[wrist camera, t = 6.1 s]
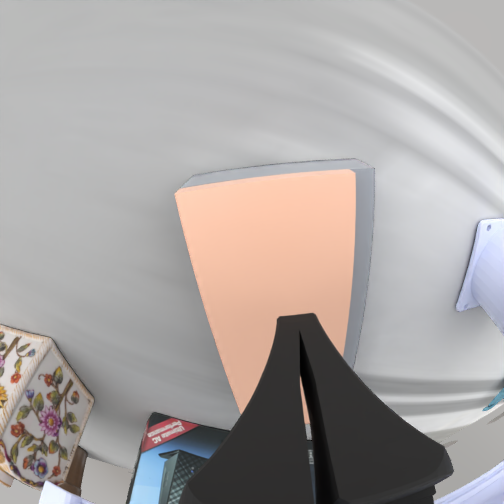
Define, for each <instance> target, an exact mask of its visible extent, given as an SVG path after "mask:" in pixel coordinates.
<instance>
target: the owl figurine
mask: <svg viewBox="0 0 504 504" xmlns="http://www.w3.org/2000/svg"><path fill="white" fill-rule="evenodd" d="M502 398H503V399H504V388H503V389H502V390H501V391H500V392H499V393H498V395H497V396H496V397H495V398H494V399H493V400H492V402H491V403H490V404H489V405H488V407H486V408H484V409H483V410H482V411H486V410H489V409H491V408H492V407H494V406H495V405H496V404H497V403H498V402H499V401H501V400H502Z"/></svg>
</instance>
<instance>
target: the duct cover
mask: <svg viewBox="0 0 504 504" xmlns="http://www.w3.org/2000/svg"><path fill="white" fill-rule="evenodd" d="M175 198H176V203H177V207H178V211H179V215H180V219H181V224H182V228H183V232H184V236H185V240H186V243H187V247H188V251H189V255H190V259H191V262H192V266H193V270H194V273H195V277H196V280H197V284H198V287H199V291H200V294H201V298H202V301H203V304H204V308H205V311H206V314H207V317H208V321H209V324H210V327H211V330H212V333H213V336H214V340H215V343H216V346H217V349H218V352H219V355H220V358H221V361H222V363H223V366H224V369H225V372H226V375H227V378H228V381H229V383H230V386H231V389H232V392H233V394H234V397H235V400H236V403H237V405H238V408H239V410H240V413H241V414H242V413H243V411H244V410H245V408H246V406H247V404H248V402H249V401H250V399H251V397H252V395H253V393H254V391H255V389H256V387H257V385H258V383H259V380H260V378H261V375H262V373H263V371H264V368H265V366H266V363H267V360H268V357H269V354H270V351H271V348H272V344H273V340H274V336H275V331H276V324H277V318H278V317H279V316H288V315H297V314H306V313H314V314H316V316H317V318H318V320H319V322H320V324H321V325H322V327H323V329H324V331H325V332H326V334H327V335H328V337H329V339H330V340H331V342H332V343H333V345H334V346H335V347H336V349H337V350H338V352H339V353H340V354H341V356H342V357H343V354H344V347H345V340H346V333H347V326H348V318H349V309H350V300H351V290H352V278H353V264H354V247H355V219H356V177H355V173H354V172H353V171H351V170H350V169H342V170H326V171H312V172H300V173H290V174H280V175H270V176H262V177H253V178H245V179H238V180H231V181H224V182H217V183H210V184H204V185H198V186H192V187H186V188H180V189H179V190H178V191H177V192H176V193H175ZM300 388H301V396H302V404H303V412H304V421H305V424H310V421H309V416H308V411H307V406H306V401H305V396H304V391H303V387H302V382H301V377H300Z"/></svg>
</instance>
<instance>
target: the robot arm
mask: <svg viewBox="0 0 504 504" xmlns="http://www.w3.org/2000/svg"><path fill="white" fill-rule="evenodd" d="M480 305H481V307H482V308H483V309H484V310H485V312H486V313H487V314H488V315H489V317H490V318H491V319H492V321H493V322H494V323H495V325H496V326H497V327H498V329H499V330H500V331H501V333H502V334H503V336H504V218H501V219H488V220H482V221H480V223H479V224H478V228H477V233H476V238H475V243H474V247H473V251H472V255H471V259H470V263H469V267H468V270H467V274H466V277H465V280H464V284H463V287H462V290H461V293H460V296H459V299H458V302H457V304H456V310H457V311H458V312H461V311H464V310H468V309H471V308H474V307H477V306H480ZM300 377H301V382H302V387H303V391H304V396H305V401H306V406H307V411H308V416H309V421H310V427H311V434H312V446H313V459H314V476H315V502H316V504H504V460H503V461H501V462H500V464H498V465H497V466H495V467H494V468H492V469H491V470H489V471H488V472H486V473H485V474H483V475H482V476H480V477H478V478H477V479H475V480H473V481H472V482H470V483H468V484H466V485H465V486H463V487H461V488H459V489H457V490H456V491H453V492H452V493H449V494H447V495H446V496H443V497H441V498H439V499H437V500H435V501H434V500H433V496H432V495H434V494H435V493H436V490H435V486H434V485H435V484H437V483H439V482H441V481H443V480H444V479H446V478H448V477H449V476H451V475H452V474H453V472H454V470H453V466H452V463H451V460H450V458H449V455H448V453H447V451H446V449H445V447H444V446H443V445H441V444H439V443H437V442H436V441H434V440H432V439H431V438H429V437H427V436H426V435H424V434H423V433H421V432H420V431H418V430H417V429H416V428H414V427H413V426H411V425H410V424H409V423H407V422H406V421H405V420H403V419H402V418H401V417H400V416H399V415H397V414H396V413H395V412H394V411H393V410H391V409H390V408H389V407H388V406H387V405H385V404H384V403H383V402H382V401H381V400H380V399H379V398H378V397H377V396H376V395H375V394H374V393H373V392H372V391H371V390H370V389H369V388H368V387H367V386H366V385H365V384H364V383H363V382H362V380H361V379H360V378H359V377H358V376H357V375H356V374H355V372H354V371H353V370H352V369H351V367H350V366H349V365H348V364H347V362H346V361H345V360H344V359H343V357H342V356H341V354H340V353H339V352H338V350H337V349H336V347H335V346H334V345H333V343H332V342H331V340H330V339H329V337H328V335H327V334H326V332H325V331H324V329H323V327H322V325H321V324H320V322H319V320H318V318H317V316H316V314H314V313H306V314H297V315H288V316H279V317H278V318H277V324H276V331H275V336H274V340H273V344H272V348H271V351H270V354H269V357H268V360H267V363H266V366H265V368H264V371H263V373H262V375H261V378H260V380H259V383H258V385H257V387H256V389H255V391H254V393H253V395H252V397H251V399H250V401H249V402H248V404H247V406H246V408H245V410H244V411H243V413H242V414H241V416H240V418H239V419H238V421H237V422H236V424H235V425H234V427H233V428H232V430H231V431H230V433H229V434H228V435H227V437H226V438H225V439H224V441H223V442H222V443H221V444H220V446H219V447H218V448H217V450H216V451H215V452H214V453H213V454H212V456H211V457H210V458H209V459H208V460H207V461H206V462H205V463H204V464H203V465H202V466H201V467H200V468H199V470H198V471H197V472H196V473H195V474H194V475H193V476H192V477H191V478H190V479H189V480H188V481H187V482H186V484H185V487H184V489H183V491H182V494H181V496H180V500H179V503H178V504H314V497H313V488H312V479H311V471H310V463H309V454H308V446H307V437H306V429H305V421H304V412H303V404H302V396H301V388H300ZM39 504H95V503H93V502H90V501H88V500H85V499H83V498H81V497H79V496H77V495H75V494H72V493H70V492H68V491H66V490H64V489H62V488H60V487H58V486H56V485H55V484H53V483H51V482H49V481H45V484H44V487H43V490H42V494H41V497H40V501H39Z"/></svg>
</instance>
